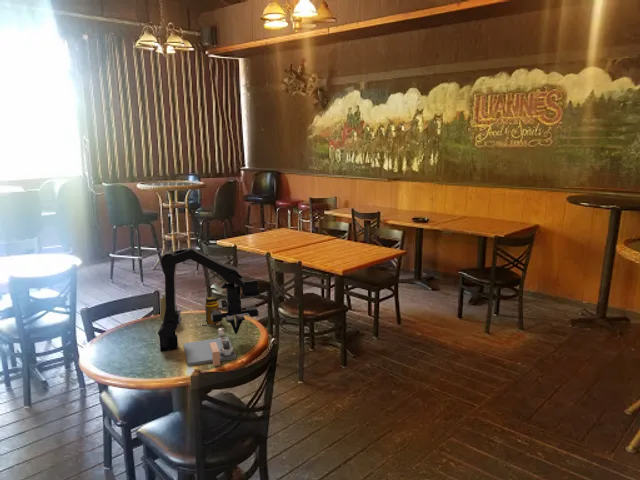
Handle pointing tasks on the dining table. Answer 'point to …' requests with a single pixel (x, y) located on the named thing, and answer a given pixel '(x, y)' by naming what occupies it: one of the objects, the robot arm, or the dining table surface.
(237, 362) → the dining table surface
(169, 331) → the robot arm
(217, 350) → the bracket
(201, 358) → the slate board
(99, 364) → the dining table surface
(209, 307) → the condiment
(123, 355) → the dining table surface
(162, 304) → the squeeze bottle
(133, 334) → the dining table surface
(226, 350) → the swing arm
